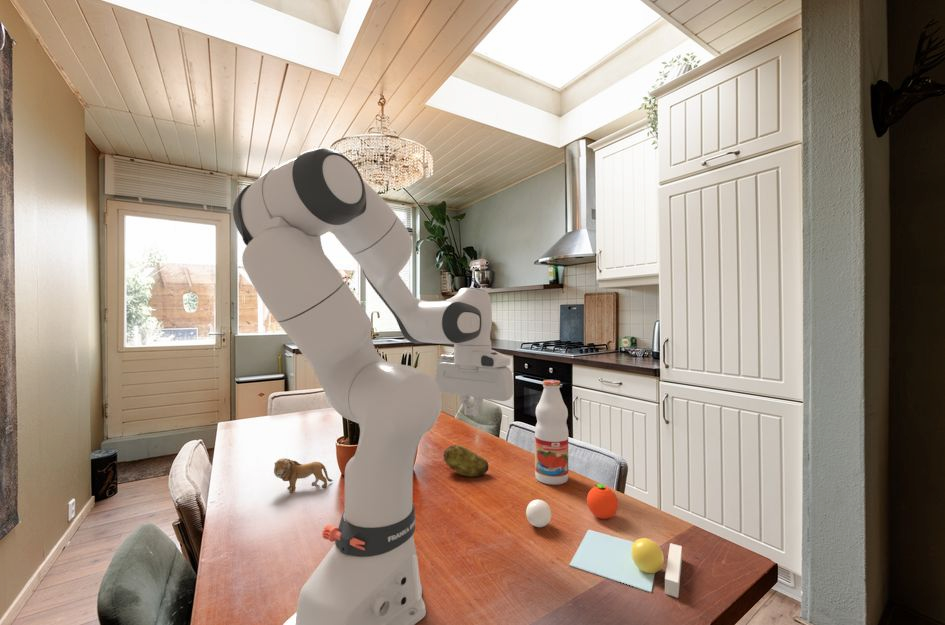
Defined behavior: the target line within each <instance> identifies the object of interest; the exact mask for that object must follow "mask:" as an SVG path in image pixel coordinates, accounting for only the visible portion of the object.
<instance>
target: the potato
mask: <svg viewBox="0 0 945 625" xmlns="http://www.w3.org/2000/svg"><path fill="white" fill-rule="evenodd" d="M443 459H444V462H445V464H446V465H447V466H448V467H449V468H450V469H451V470H453V471H454V472H457V473H458V474H459V475H461V476H462V477H463V476H464V477H468V478H469V477H470V478H471V477H472V478H473V477H479V476H482V475H485V474H486V473H487V472H488V471H489V462H488V460H487V459H486V458H484V457H483V456H481V455H479V454H477V453H476V452H474V451H472V450H470V449H469V448H467V447H465V446H463V445H460V444H459V445H458V444H454V445H450V446H448V447H447V448H446V449H445V450H444V453H443Z"/></svg>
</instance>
